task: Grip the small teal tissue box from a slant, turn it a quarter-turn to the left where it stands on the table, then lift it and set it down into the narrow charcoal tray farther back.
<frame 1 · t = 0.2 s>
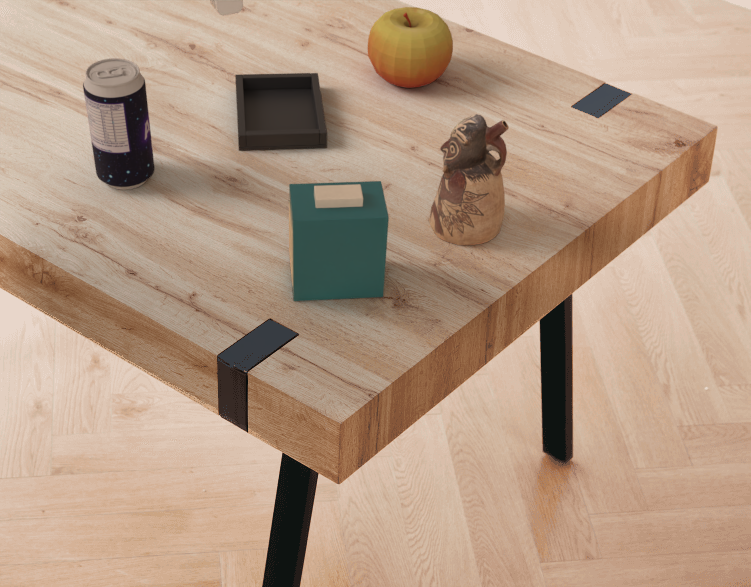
figurine: (465, 225, 105), on the table
beverage can: (126, 178, 108), on the table
tray: (279, 117, 117), on the table
apple: (407, 77, 125), on the table
tissue box: (335, 280, 97), on the table
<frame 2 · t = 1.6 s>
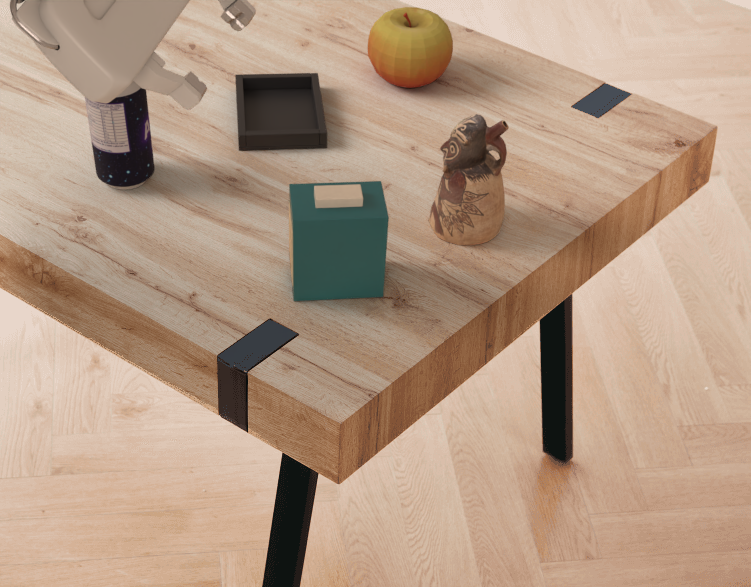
hand: (224, 59, 78), 24 cm above the table, tool tilted 45°, fingers open, 8 cm apart
nothing on the table moved.
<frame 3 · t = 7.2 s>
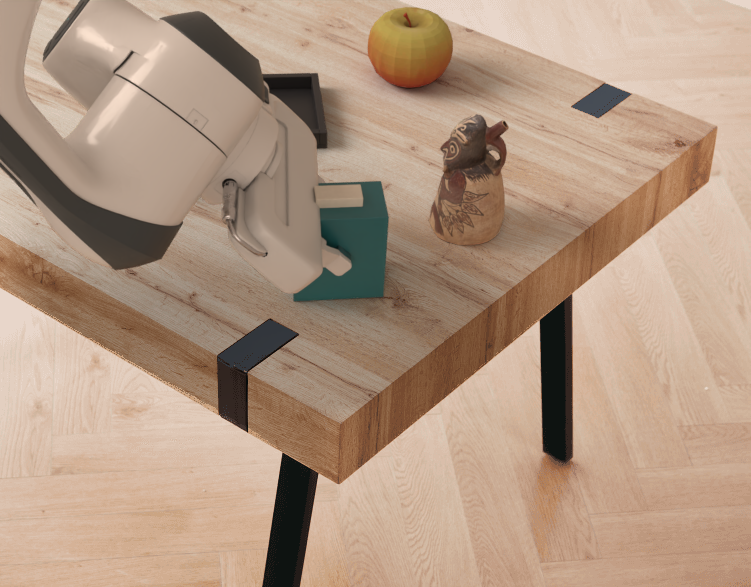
hand: (344, 242, 94), 4 cm above the table, tool tilted 45°, fingers closed on tissue box, 5 cm apart
tissue box: (336, 280, 97), on the table, touching gripper
everything else where it was.
when the fingers open (4 cm above the table, at t = 23.2 s): tissue box stays where it is, resting on tray.
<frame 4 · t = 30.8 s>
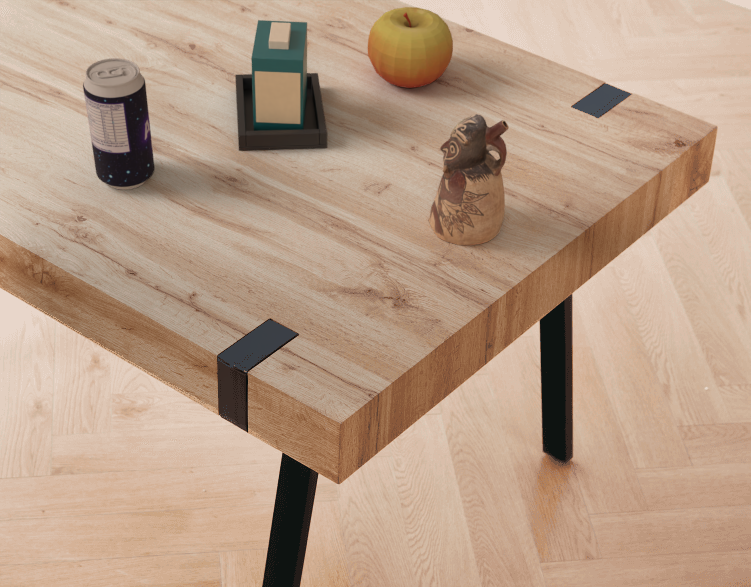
tissue box: (281, 114, 117), resting on tray
everything else where it was.
at the end: tissue box 0.1 cm off-centre in the tray, point 0.4 cm above the tray's base; tissue box tilted 0° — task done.
